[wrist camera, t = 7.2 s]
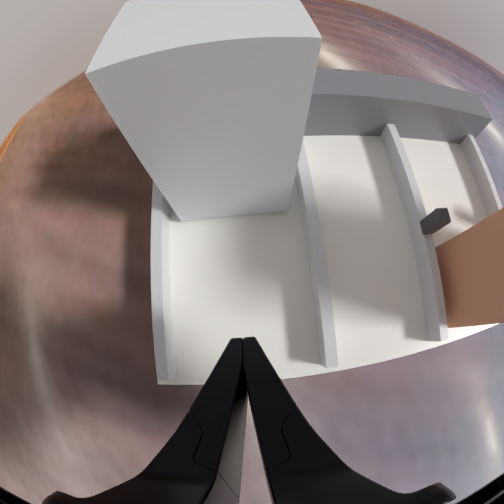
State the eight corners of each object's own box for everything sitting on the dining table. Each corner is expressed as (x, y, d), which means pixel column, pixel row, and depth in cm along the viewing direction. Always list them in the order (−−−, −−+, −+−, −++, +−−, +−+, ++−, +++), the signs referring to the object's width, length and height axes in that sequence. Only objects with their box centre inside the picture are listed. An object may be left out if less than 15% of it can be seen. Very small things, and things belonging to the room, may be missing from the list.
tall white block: (287, 210, 16) (321, 38, 5) (181, 221, 16) (84, 73, 5) (276, 139, 17) (285, -21, 7) (182, 150, 17) (125, 2, 7)
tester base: (506, 317, 15) (550, 310, 10) (163, 381, 15) (126, 399, 10) (452, 128, 19) (478, 95, 14) (162, 133, 19) (141, 86, 14)
